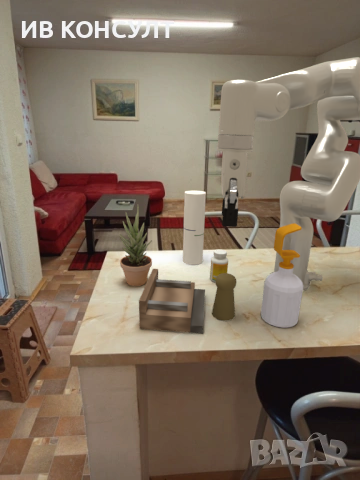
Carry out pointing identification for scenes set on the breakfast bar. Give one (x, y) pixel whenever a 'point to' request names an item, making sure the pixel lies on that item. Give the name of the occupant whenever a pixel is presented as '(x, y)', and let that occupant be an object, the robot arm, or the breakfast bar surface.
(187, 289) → the loading dock
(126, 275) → the potted plant
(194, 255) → the cylindrical container
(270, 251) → the breakfast bar surface
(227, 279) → the olive rounded upright piece
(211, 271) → the supplement bottle
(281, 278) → the soap bottle
